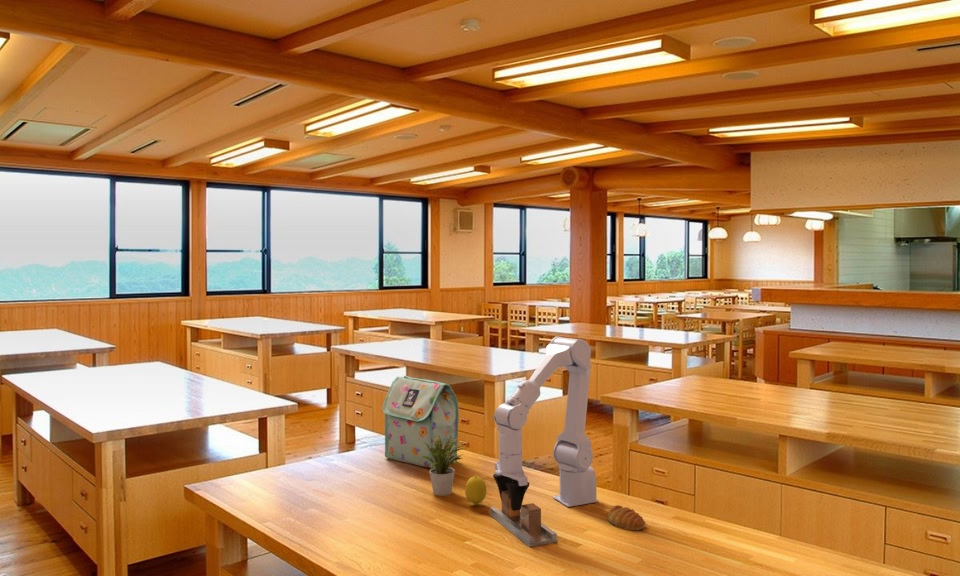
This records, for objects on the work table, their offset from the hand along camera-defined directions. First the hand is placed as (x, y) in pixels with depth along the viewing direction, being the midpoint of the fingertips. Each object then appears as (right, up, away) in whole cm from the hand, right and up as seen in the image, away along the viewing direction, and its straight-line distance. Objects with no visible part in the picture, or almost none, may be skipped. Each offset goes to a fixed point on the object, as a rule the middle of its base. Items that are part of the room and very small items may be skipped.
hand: (511, 505), depth 175 cm
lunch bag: (-27, -2, +53) cm, 59 cm away
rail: (+2, -4, -5) cm, 7 cm away
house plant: (-18, -3, +20) cm, 27 cm away
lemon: (-9, -3, +11) cm, 14 cm away
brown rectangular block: (0, -3, 0) cm, 3 cm away
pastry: (+28, -4, -3) cm, 29 cm away
